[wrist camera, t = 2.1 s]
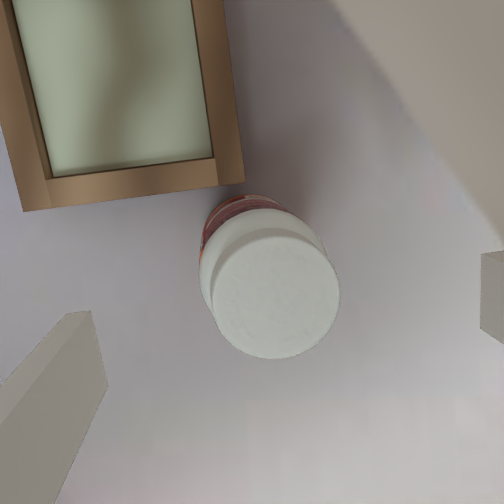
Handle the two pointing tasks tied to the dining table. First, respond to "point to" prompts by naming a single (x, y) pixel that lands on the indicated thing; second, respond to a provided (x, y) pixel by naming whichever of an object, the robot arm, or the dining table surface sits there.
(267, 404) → the dining table surface
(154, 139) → the holder
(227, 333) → the pill bottle
